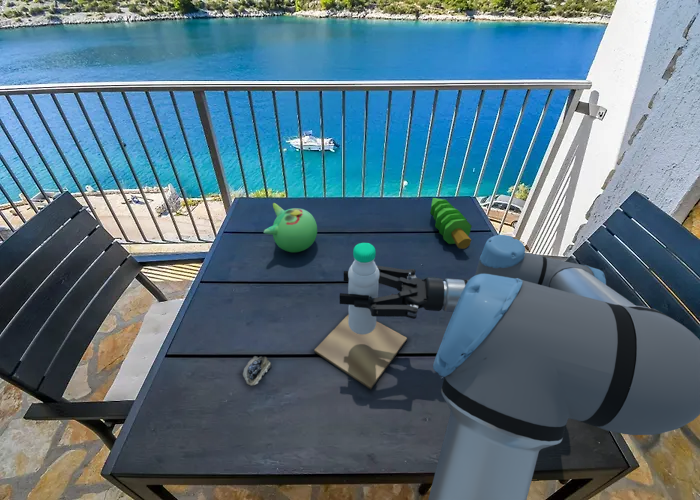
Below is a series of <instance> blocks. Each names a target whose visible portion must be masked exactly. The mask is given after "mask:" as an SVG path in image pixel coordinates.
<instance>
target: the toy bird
mask: <svg viewBox="0 0 700 500" xmlns="http://www.w3.org/2000/svg"><path fill="white" fill-rule="evenodd" d="M272 208H273V211H274V213H275V216H276V218H275V219H274V221H273V224H272V225H271V226H269V227H267V228H265V229H264V230H263V234H264V235H272V238H273V241H274V242H275V244H276V245H277V247H278V248H280V249H281V250H283V251H285V252H287V253H288V252H289V253H301V252H304V251H305V250H307V249H309V248H310V247H311V246H312V245H313V244H314V242H316V238H317V236H318V225H317V221H316V219H315V217H314V216H313V214H312V213H310V212H309V211H308V210H306V209H304V208H300V207H299V208H297V207H293V208H288V209H286V210H285V209H283V208H282V207H281V206H280V205H279V204H277V203H275V202H273V203H272Z"/></svg>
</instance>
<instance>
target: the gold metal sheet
mask: <svg viewBox="0 0 700 500" xmlns="http://www.w3.org/2000/svg"><path fill="white" fill-rule="evenodd" d="M348 318H349V313H348V314H347V315H346V316H345V317H344V318H343V319H342V320H341V321H340V322H339V323H338V324H337V325H336V326H335V327H334V329H333V330H331V331H330V333H328V335H327V336H325V338H324V339H323V340H322V341H321V342H320V343H319V344H318V345H317V346H316V348H314V350H313V352H314V353H315V354H317V355H318V356H320V357H321V358H323V359H324V360H326V361H327V362H329V363H330V364H331V365H333V366H335V367H336V368H338V369H339V370H341V371H342V372H343V373H345V374H347V375H348V376H350V377H351V378H352V379H354V380H356V381H357V382H359V383H360V384H362V385H363V386H365V387H367V389H369V390H372V389H373V387H374V386H375V384H377V382H378V380H379V379H380V377H381V376H382V375H383V373H384V372H385V371H386V369H387V368H388V367H389V366H390V364H391V363H392V361H393V360H394V358H395V357H396V356H397V354H398V353H399V351H400V350H401V349H402V347H403V346H404V345H405V344H406V342H407V341H408V337H406V336H404V335H402V334H401V333H399V332H398V331H395V330H394V329H392V328H390V327H388V326H387V325H384V324H383V323H381V322H379V321H377V320H376V327H375V329H374V330H373V331H372V332H370V333H368V334H357V333H355V332H353V331H352V330H351V329H350V327H349V324H348Z"/></svg>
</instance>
